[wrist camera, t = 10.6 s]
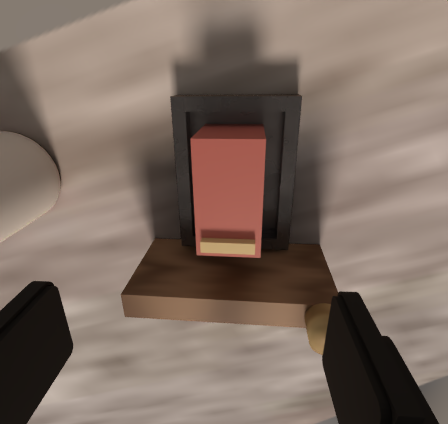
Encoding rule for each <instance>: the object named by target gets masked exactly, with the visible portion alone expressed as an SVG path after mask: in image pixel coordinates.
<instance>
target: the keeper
mask: <svg viewBox="0 0 448 424" xmlns="http://www.w3.org/2000/svg"><path fill="white" fill-rule="evenodd" d="M170 98H171V111H172V124H173V138H174V151H175V164H176V177H177V190H178V203H179V216H180V230H181V243H182V246H196V233H195V214H194V196H193V177H192V158H191V140H190V139H191V138H192V137H193V136H194V135H195V134H196V133H197V132H198V131H199V130H200V129H201V128H202V127H203V126H204V125H205V124H263V125H264V131H265V136H266V151H265V172H264V193H263V214H262V236H261V249H272V250H288V246H289V235H290V224H291V213H292V201H293V190H294V179H295V168H296V157H297V145H298V134H299V123H300V112H301V101H302V96H301V95H298V94H266V95H175V96H171V97H170Z"/></svg>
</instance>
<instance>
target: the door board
mask: <svg viewBox="0 0 448 424" xmlns="http://www.w3.org/2000/svg"><path fill="white" fill-rule="evenodd" d="M337 295H338V291H337V288H336V286H335V283H334V281H333V278H332V275H331V273H330V270H329V268H328V265H327V262H326V260H325V257H324V255H323V252H322V249H321V247H320V245H317V244H290V243H289V246H288V250H272V249H261V257H260V258H251V257H227V256H204V255H197V252H196V246H182V243H181V239H158V238H155V239H154V241H153V243H152V244H151V246H150V248H149V249H148V251H147V253H146V254H145V256H144V257H143V259H142V261H141V262H140V264H139V266H138V267H137V269H136V271H135V272H134V274H133V275H132V277H131V279H130V280H129V282H128V284H127V285H126V287H125V289H124V290H123V292H122V293H121V298H122V303H123V309H124V314H125V317H137V318H153V319H170V320H186V321H202V322H219V323H235V324H251V325H268V326H284V327H300V328H306V329H307V334H308V339H309V344H310V346H311V348H312V349H313V350H314V351H315V352H317V353H319V354H322V355H323V350H324V343H325V337H326V331H327V325H328V319H329V313H330V307H331V301H332V297H333V296H337Z"/></svg>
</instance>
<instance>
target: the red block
mask: <svg viewBox="0 0 448 424" xmlns="http://www.w3.org/2000/svg"><path fill="white" fill-rule="evenodd" d="M190 140H191V158H192V177H193V196H194V214H195V233H196V252H197V255H204V256H227V257H251V258H260V257H261V236H262V214H263V193H264V172H265V151H266V136H265V131H264V125H263V124H205V125H204V126H203V127H202V128H201V129H200V130H199V131H198V132H197V133H196V134H195V135H194V136H193V137H192V138H191V139H190Z"/></svg>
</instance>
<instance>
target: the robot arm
mask: <svg viewBox="0 0 448 424" xmlns="http://www.w3.org/2000/svg"><path fill="white" fill-rule="evenodd" d="M72 350H73V342H72V338H71V334H70V331H69V327H68V323H67V320H66V316H65V312H64V309H63V305H62V301H61V298H60V294H59V290H58V288H57V287H56V286H54V284H53V283H52V282H46V281H33V282H31V283H30V284H28V285H27V286H26V287H25V288H24V289H23V290H22V291H21V292H20V293H19V294H18V295H17V296H16V297H15V298H13V299H12V300H11V301H10V302H9V303H8V304H7V305H6V306H5V307H4V308H3V309H2V310H1V311H0V424H27V422H28V421H29V419H30V418H31V416H32V415H33V413H34V411H35V410H36V408H37V407H38V405H39V404H40V402H41V401H42V399H43V397H44V396H45V394H46V393H47V391H48V390H49V388H50V386H51V385H52V383H53V382H54V380H55V379H56V377H57V376H58V374H59V372H60V371H61V369H62V368H63V366H64V365H65V363H66V361H67V360H68V358H69V357H70V355H71V353H72ZM322 361H323V368H324V372H325V375H326V379H327V383H328V386H329V390H330V394H331V397H332V401H333V405H334V408H335V412H336V416H337V419H338V423H339V424H439V423H438V421H437V419H436V417H435V415H434V414H433V412H432V411H431V408H430V407H429V405H428V403H427V401H426V400H425V398H424V396H423V394H422V393H421V391H420V389H419V387H418V385H417V384H416V382H415V380H414V378H413V377H412V375H411V373H410V371H409V369H408V368H407V366H406V364H405V362H404V361H403V359H402V357H401V355H400V354H399V352H398V350H397V348H396V346H395V345H394V343H393V341H392V340H391V339H390V338H389V337H388V336H381V334H380V332H379V330H378V328H377V326H376V324H375V322H374V321H373V319H372V317H371V315H370V313H369V311H368V309H367V308H366V306H365V304H364V302H363V300H362V298H361V296H360V295H359V293H357V292H339V293H338V295H337V296H333V297H332V301H331V307H330V313H329V319H328V325H327V331H326V337H325V343H324V350H323V356H322Z"/></svg>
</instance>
